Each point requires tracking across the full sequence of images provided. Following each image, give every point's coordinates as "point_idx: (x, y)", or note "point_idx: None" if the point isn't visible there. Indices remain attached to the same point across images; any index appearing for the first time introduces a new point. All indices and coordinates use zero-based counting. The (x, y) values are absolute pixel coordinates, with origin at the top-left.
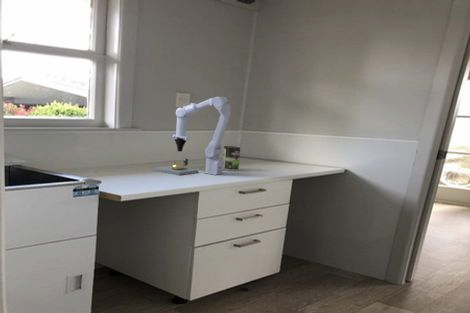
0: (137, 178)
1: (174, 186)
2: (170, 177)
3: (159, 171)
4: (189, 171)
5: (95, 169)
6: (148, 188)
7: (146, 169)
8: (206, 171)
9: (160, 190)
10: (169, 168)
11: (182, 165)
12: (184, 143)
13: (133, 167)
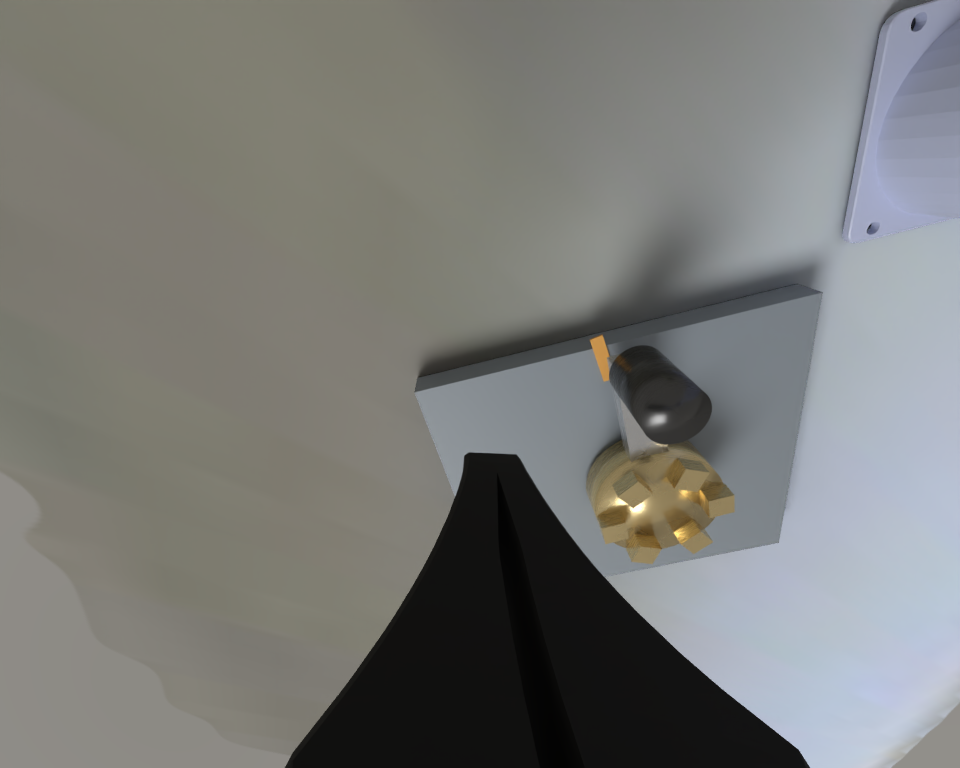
0: None
1: (931, 669)
2: (768, 597)
3: None
4: (795, 436)
5: None
6: (859, 735)
7: None
8: (929, 215)
9: (919, 722)
10: (573, 513)
11: (725, 489)
12: (659, 644)
13: (330, 625)
